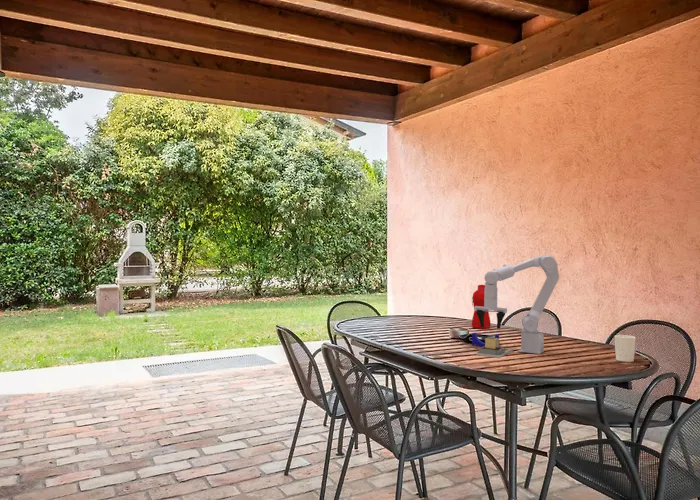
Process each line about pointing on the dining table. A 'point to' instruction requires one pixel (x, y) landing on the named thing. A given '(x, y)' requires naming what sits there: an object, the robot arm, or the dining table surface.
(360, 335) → the dining table surface
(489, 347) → the tan rectangular block
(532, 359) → the dining table surface
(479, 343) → the cable clip
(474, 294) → the water bottle
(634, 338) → the white cup
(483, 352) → the grey base plate
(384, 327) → the dining table surface
